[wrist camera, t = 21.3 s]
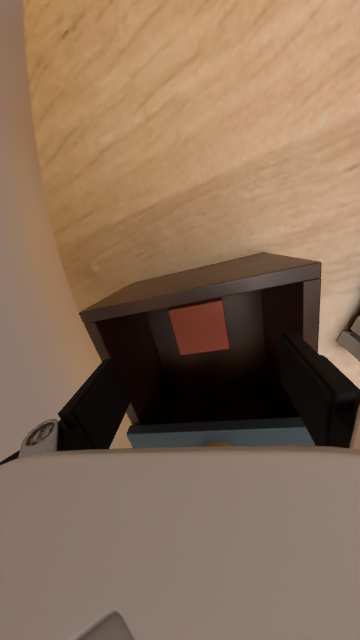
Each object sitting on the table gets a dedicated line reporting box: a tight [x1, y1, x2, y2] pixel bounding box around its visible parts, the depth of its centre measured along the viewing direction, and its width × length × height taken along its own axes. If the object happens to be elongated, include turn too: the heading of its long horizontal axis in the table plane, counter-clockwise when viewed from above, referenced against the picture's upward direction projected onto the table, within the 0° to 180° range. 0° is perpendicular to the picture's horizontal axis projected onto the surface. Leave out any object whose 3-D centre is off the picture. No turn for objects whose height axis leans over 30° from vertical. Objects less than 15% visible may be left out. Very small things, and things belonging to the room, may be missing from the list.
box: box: [79, 252, 321, 425], centre depth 17 cm, size 14×18×9 cm
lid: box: [127, 417, 316, 448], centre depth 14 cm, size 14×18×4 cm
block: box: [168, 297, 230, 355], centre depth 17 cm, size 4×4×4 cm
